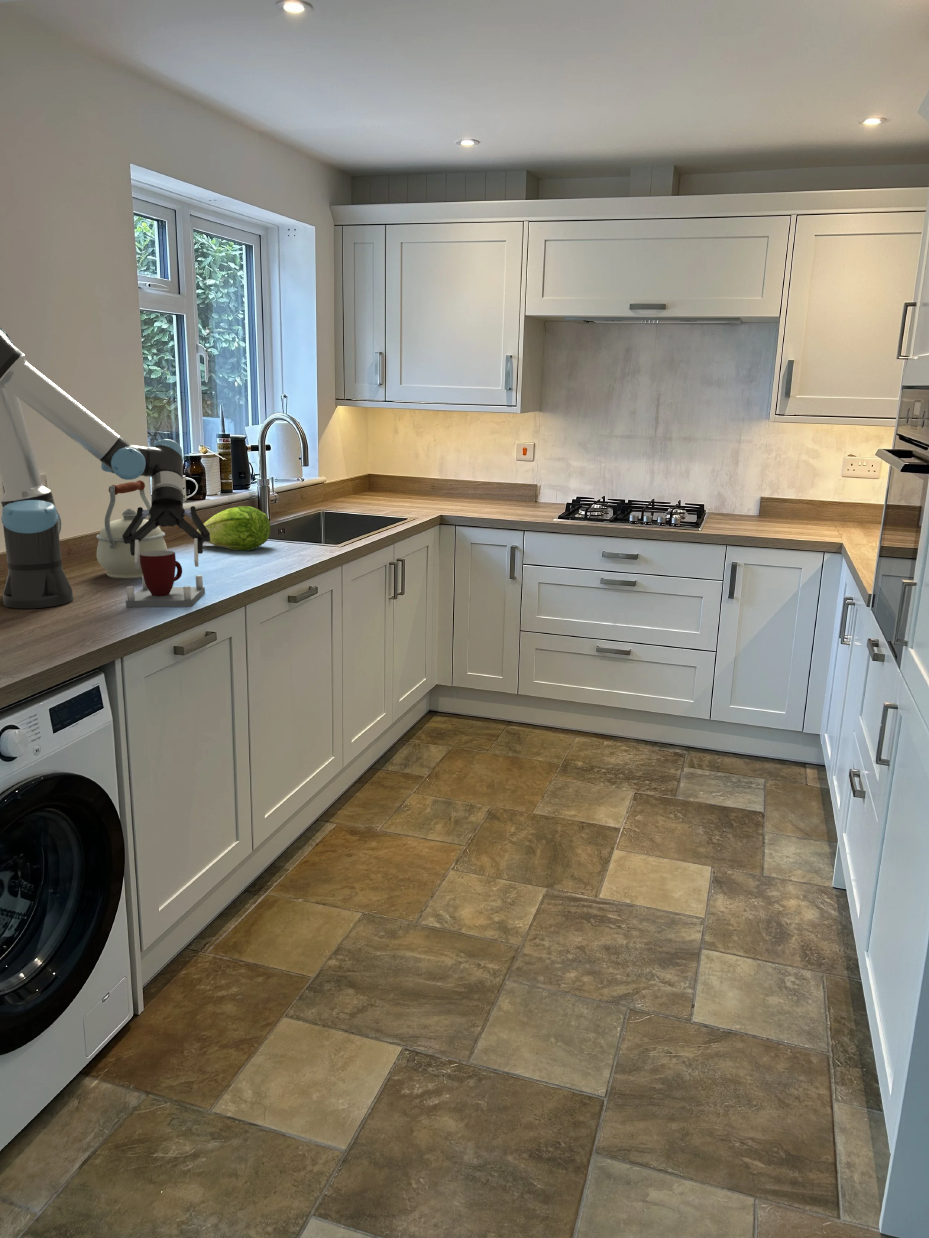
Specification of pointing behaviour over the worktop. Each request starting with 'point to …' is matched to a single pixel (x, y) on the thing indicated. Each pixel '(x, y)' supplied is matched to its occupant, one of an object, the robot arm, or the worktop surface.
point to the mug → (160, 571)
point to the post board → (166, 596)
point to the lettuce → (238, 528)
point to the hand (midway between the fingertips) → (166, 564)
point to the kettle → (111, 543)
